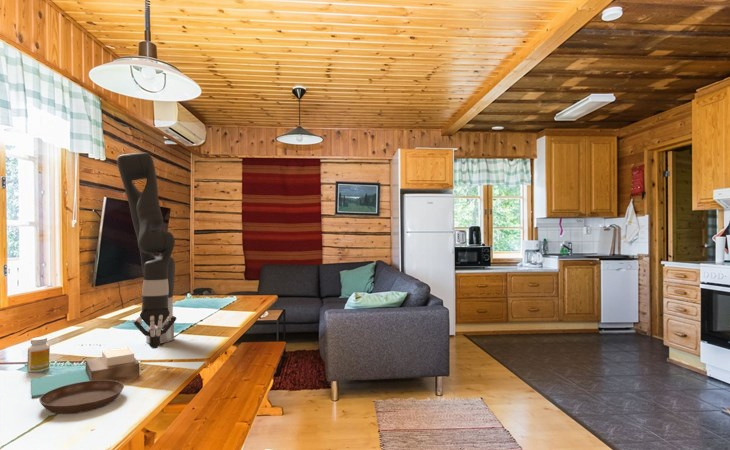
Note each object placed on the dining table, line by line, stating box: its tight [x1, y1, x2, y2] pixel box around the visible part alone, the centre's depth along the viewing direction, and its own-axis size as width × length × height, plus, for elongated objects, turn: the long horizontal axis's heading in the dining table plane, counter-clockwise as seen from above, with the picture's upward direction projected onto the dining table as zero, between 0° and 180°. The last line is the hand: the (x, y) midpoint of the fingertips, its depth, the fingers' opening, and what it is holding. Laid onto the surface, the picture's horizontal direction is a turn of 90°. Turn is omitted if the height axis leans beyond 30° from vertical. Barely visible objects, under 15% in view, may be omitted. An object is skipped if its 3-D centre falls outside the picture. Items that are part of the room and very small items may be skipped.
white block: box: [101, 347, 135, 366], centre depth 127 cm, size 7×9×2 cm
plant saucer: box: [39, 380, 125, 415], centre depth 106 cm, size 18×18×3 cm
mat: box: [30, 369, 90, 399], centre depth 118 cm, size 13×16×1 cm
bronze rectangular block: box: [84, 356, 140, 382], centre depth 126 cm, size 12×14×4 cm
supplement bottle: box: [26, 336, 51, 373], centre depth 130 cm, size 5×5×10 cm
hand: (154, 347), depth 134 cm, fingers closed
